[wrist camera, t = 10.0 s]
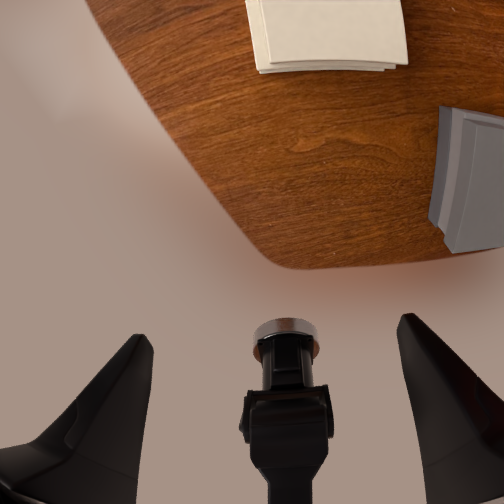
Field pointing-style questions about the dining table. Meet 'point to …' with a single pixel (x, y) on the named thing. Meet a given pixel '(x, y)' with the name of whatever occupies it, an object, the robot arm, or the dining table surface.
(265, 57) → the white pile
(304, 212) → the dining table surface
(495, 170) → the grey pile
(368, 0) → the white block
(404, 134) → the dining table surface
